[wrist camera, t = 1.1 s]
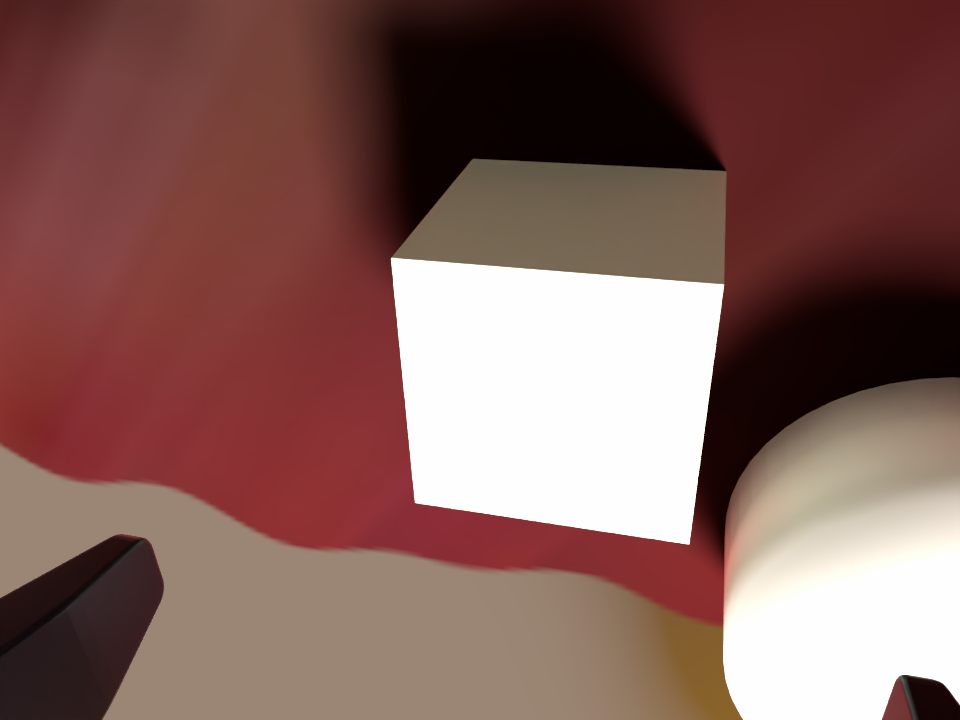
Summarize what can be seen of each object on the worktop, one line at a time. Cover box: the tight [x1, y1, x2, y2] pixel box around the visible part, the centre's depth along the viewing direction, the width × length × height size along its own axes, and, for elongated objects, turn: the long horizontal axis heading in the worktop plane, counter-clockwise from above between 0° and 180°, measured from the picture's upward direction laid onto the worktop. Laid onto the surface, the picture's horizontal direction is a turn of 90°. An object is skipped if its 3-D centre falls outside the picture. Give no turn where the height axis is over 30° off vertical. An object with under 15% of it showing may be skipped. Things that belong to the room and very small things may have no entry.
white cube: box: [391, 159, 726, 544], centre depth 16 cm, size 5×5×5 cm
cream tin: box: [723, 377, 960, 720], centre depth 17 cm, size 9×9×4 cm
